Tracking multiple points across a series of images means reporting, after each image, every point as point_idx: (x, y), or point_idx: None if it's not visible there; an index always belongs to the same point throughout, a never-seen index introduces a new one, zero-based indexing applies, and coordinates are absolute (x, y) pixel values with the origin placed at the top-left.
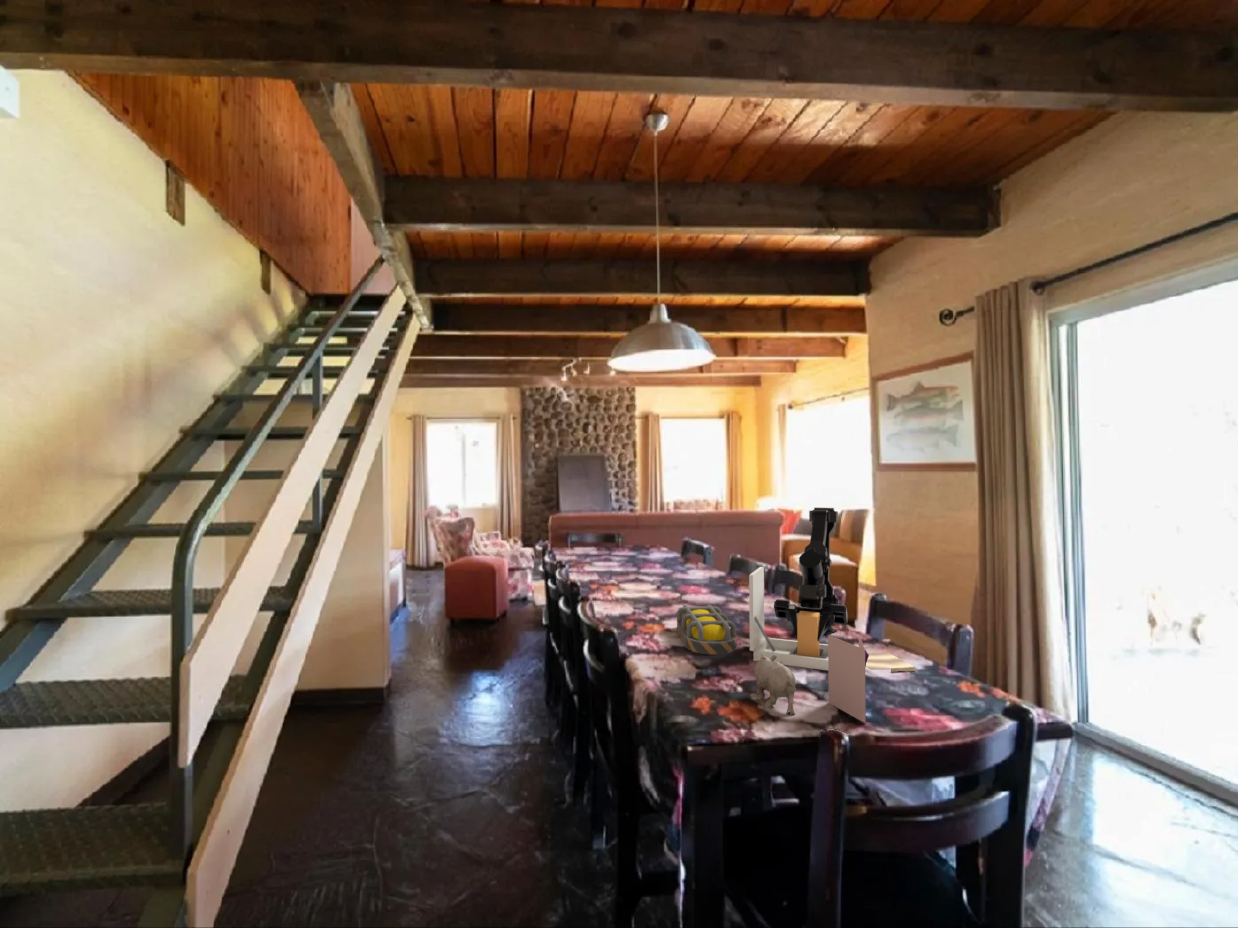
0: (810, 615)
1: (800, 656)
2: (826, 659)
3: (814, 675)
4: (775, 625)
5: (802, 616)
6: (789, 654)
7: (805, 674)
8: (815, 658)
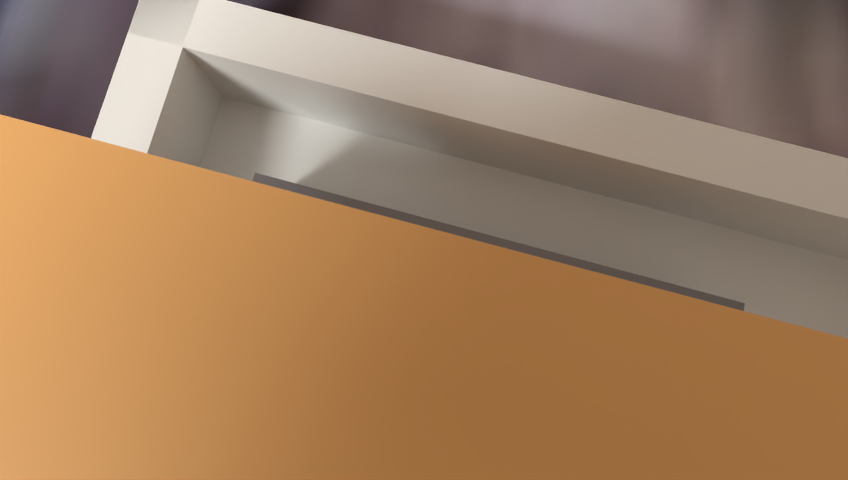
0: (291, 467)
1: (593, 112)
2: (231, 30)
3: (422, 14)
4: None
5: (824, 343)
6: (753, 186)
7: (519, 31)
8: (382, 55)
